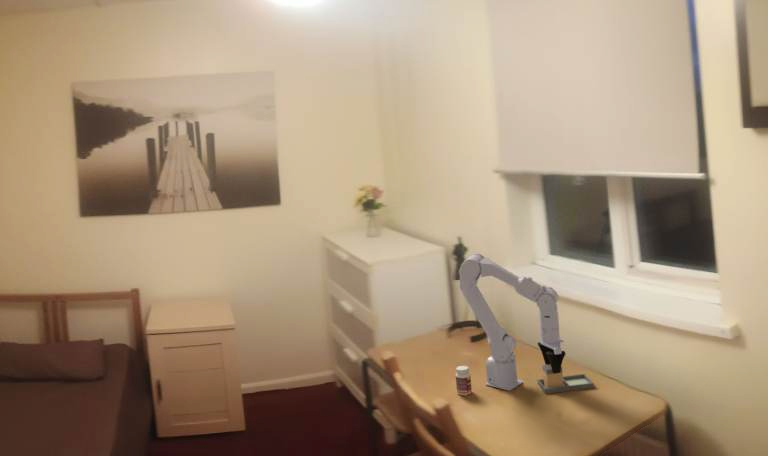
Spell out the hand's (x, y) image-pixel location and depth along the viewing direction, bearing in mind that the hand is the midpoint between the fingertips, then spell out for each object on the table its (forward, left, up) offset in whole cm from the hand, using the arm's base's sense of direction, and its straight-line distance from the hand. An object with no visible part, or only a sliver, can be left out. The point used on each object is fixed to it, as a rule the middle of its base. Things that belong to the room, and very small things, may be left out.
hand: (552, 368), depth 203 cm
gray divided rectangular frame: (+2, +3, -6) cm, 7 cm away
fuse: (0, 0, -6) cm, 6 cm away
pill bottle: (-22, -18, -7) cm, 29 cm away
